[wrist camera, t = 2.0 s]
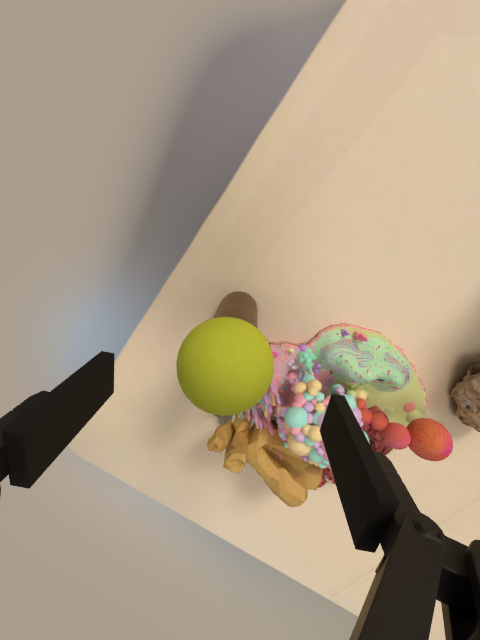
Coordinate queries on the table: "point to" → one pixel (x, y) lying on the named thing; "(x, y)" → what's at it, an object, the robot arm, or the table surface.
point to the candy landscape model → (311, 403)
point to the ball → (225, 366)
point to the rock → (469, 397)
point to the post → (238, 307)
